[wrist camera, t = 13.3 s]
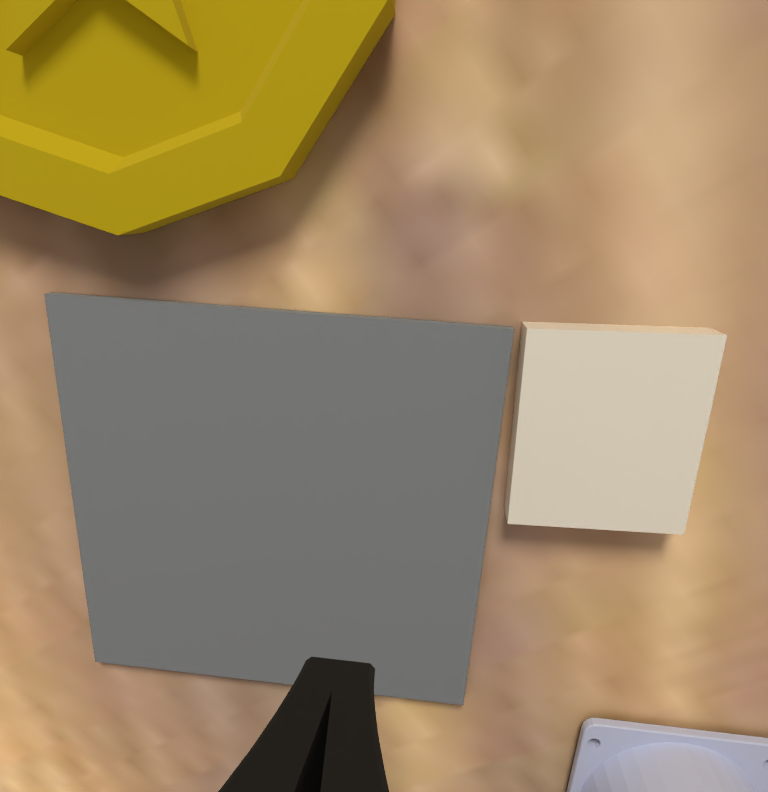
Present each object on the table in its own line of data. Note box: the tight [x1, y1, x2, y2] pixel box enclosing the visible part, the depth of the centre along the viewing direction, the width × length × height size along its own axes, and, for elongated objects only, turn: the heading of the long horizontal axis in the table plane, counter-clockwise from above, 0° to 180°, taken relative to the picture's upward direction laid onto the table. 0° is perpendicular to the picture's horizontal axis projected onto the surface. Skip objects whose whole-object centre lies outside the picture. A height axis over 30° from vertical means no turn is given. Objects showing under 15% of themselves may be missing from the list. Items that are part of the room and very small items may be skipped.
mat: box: [45, 292, 514, 705], centre depth 22 cm, size 16×16×1 cm
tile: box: [504, 322, 727, 535], centre depth 19 cm, size 7×2×6 cm
